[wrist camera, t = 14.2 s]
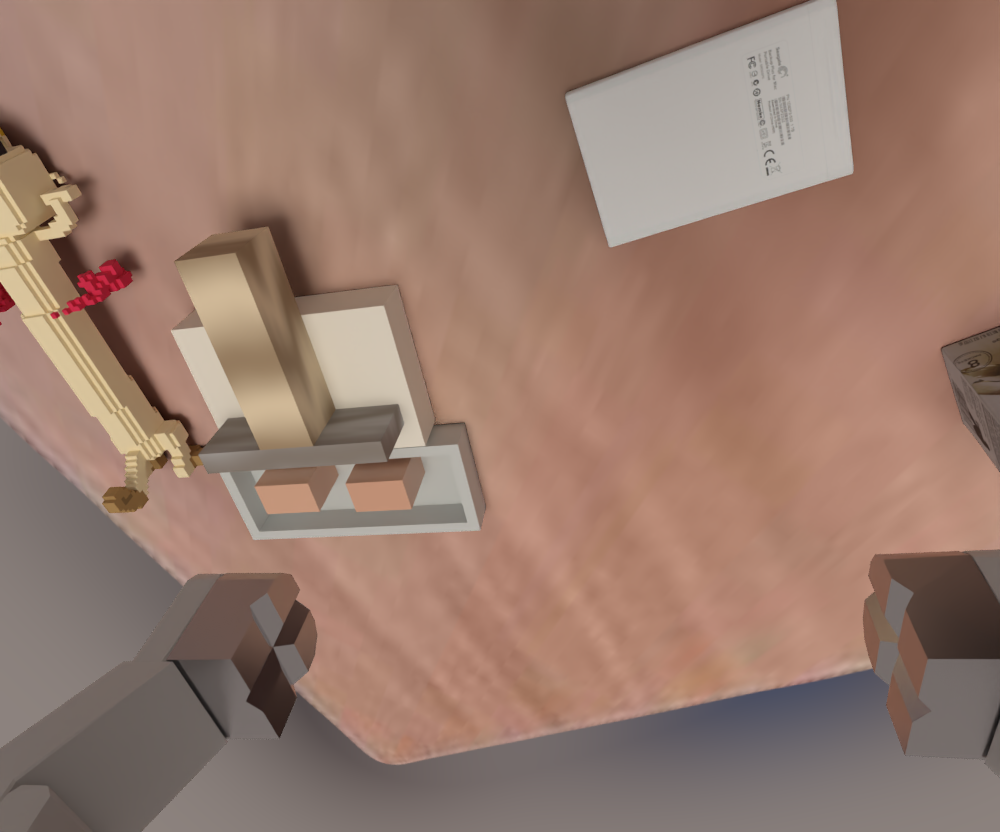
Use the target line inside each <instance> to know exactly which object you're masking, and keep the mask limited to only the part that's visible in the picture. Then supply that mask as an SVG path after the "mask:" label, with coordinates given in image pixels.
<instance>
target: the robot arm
mask: <svg viewBox="0 0 1000 832" xmlns="http://www.w3.org/2000/svg"><path fill="white" fill-rule="evenodd" d="M868 576H869V579H870V581H871V584H872V586H873V589H874V591H875V592H874V593H873V594H871V595H870V596H869V597H868V598H867V599H865V602H864V612H863V627H864V638H865V643H866V647H867V651H868V655H869V658H870V661H871V664H872V667H873V670H874V673H875V674H876V675H877V676H879V677H880V678H881V679H882V680H883V681H885V682H886V683H887V684H888V685H889V686H890V688H889V693H888V699H887V704H886V706H887V709H888V711H889V714H890V716H891V719H892V722H893V725H894V727H895V730H896V733H897V735H898V738H899V741H900V743H901V746H902V749H903V751H904V754H905V756H922V757H941V758H962V759H981V760H985V764H986V765H987V766H988V767H989V768H990V769H991V770H992V771H993V772H994V773H995V774H996V775H997V776H998V777H999V778H1000V550H977V551H963V552H960V551H949V552H924V553H899V554H875V555H874V557H873V559H872V561H871V563H870V569H869V575H868ZM299 591H300V589H299V587H298V585H297V583H296V582H295V580H294V578H293V576H292V575H291V574H285V573H226V574H197V575H195V576H194V577H192V578H191V579H189V580H188V581H187V582H186V584H185V585H184V586H183V588H182V589H181V591H180V592H179V594H178V595H177V597H176V598H175V600H174V601H173V603H172V604H171V606H170V607H169V608H168V610H167V611H166V613H165V614H164V616H163V617H162V619H161V620H160V622H159V623H158V624H157V626H156V627H155V629H154V630H153V632H152V633H151V635H150V636H149V638H148V639H147V641H146V642H145V643H144V645H143V646H142V648H141V649H140V651H139V652H138V654H137V656H136V657H135V658H134V660H133V661H126V662H125V661H124V662H122V663H120V664H119V665H118V666H116V667H115V668H114V669H112V670H111V671H109V672H108V673H106V674H105V675H104V676H102V677H101V678H99V679H98V680H96V681H95V682H94V683H92V684H91V685H89V686H88V687H87V688H85V689H84V690H82V691H81V692H79V693H78V694H77V695H75V696H74V697H73V698H71V699H70V700H68V701H67V702H65V703H64V704H63V705H61V706H60V707H58V708H57V709H55V710H54V711H53V712H51V713H50V714H49V715H47V716H45V717H44V718H43V719H41V720H40V721H39V722H37V723H36V724H34V725H33V726H31V727H30V728H28V729H27V730H26V731H24V732H23V733H21V734H20V735H19V736H17V737H16V738H14V739H13V740H12V741H10V742H9V743H7V744H6V745H4V746H3V747H2V748H0V832H142V831H143V829H144V828H145V827H146V826H147V825H148V824H149V823H150V822H151V821H152V820H153V819H154V818H155V817H156V816H157V815H158V814H159V813H160V812H161V811H162V810H163V809H164V808H165V807H166V805H168V804H169V803H170V801H172V799H173V798H174V797H175V796H176V795H177V794H178V793H179V792H180V791H181V790H182V789H183V788H184V787H185V786H186V785H187V784H188V783H189V782H190V781H191V780H192V779H193V778H194V777H195V776H196V775H197V774H198V773H199V772H200V771H201V769H202V768H203V767H204V766H205V765H206V764H207V763H208V762H209V761H210V760H211V759H212V758H213V757H214V756H215V755H216V754H217V753H218V752H219V751H220V750H221V749H222V748H223V747H224V746H225V745H226V744H227V740H226V739H280V736H281V734H282V732H283V729H284V727H285V725H286V723H287V720H288V718H289V716H290V713H291V711H292V709H293V706H294V704H295V702H296V699H297V696H296V692H295V689H294V685H293V684H295V683H296V682H297V681H298V680H299V679H300V678H301V677H303V676H304V675H305V674H306V673H307V672H308V671H309V668H310V666H311V663H312V661H313V658H314V656H315V650H316V642H317V631H316V625H315V620H314V618H313V616H312V614H311V612H310V610H309V609H308V608H306V607H305V606H304V605H302V604H301V603H299V602H298V601H297V600H296V598H297V596H298V593H299Z"/></svg>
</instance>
